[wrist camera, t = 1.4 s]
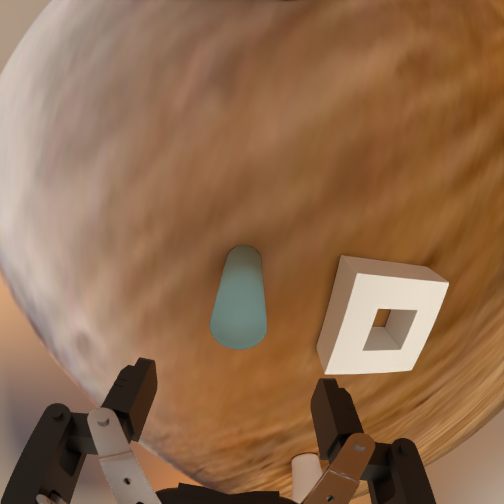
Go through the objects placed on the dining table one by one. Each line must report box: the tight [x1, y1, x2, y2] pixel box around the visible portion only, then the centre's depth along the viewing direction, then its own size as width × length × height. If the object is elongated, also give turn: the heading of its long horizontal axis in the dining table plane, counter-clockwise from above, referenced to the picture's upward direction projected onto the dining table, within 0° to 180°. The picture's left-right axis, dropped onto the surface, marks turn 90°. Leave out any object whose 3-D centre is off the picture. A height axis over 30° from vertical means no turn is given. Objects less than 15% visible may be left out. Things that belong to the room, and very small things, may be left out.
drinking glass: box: [291, 453, 323, 504], centre depth 34 cm, size 7×7×15 cm
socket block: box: [316, 255, 449, 374], centre depth 28 cm, size 12×12×5 cm
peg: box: [210, 245, 267, 350], centre depth 23 cm, size 4×4×12 cm
